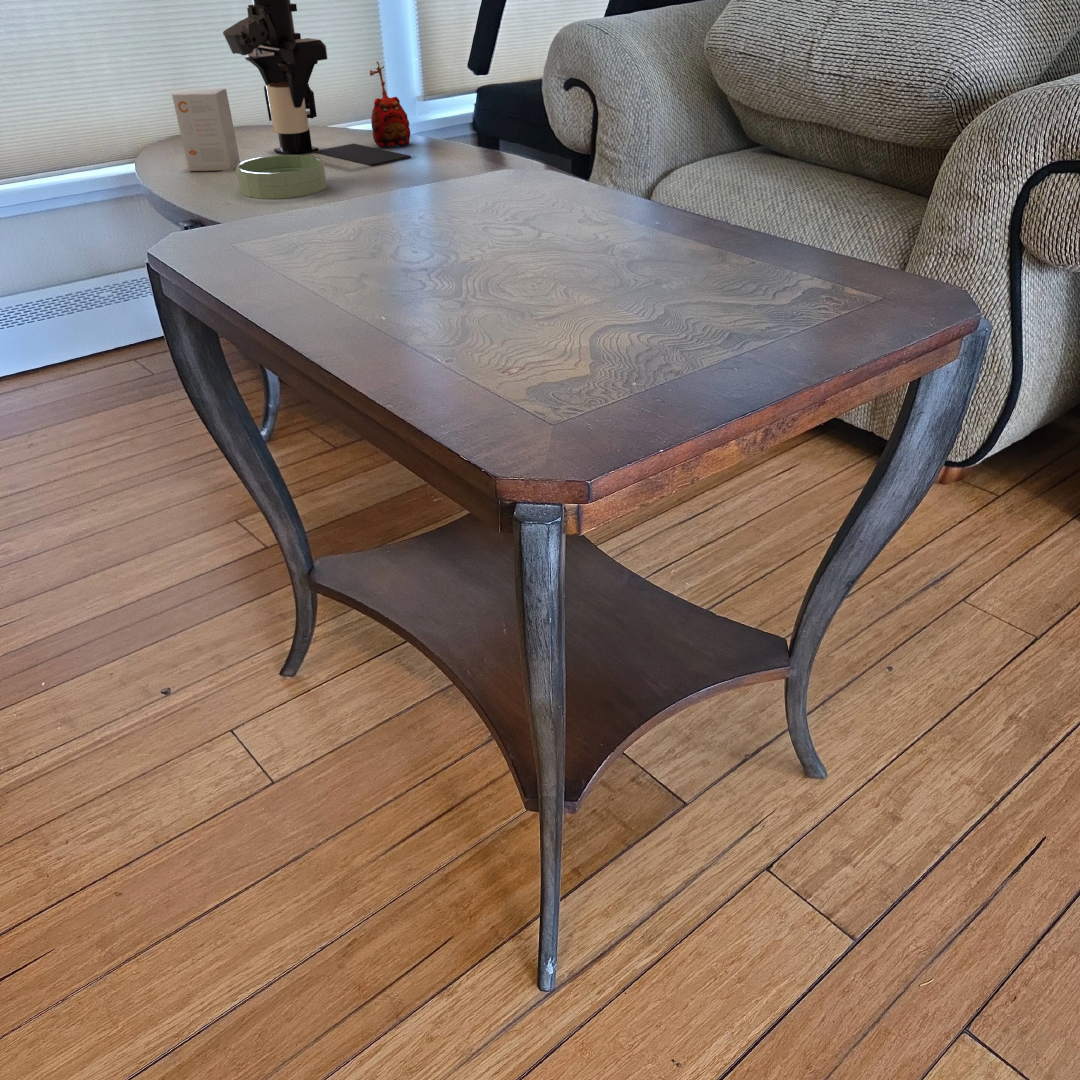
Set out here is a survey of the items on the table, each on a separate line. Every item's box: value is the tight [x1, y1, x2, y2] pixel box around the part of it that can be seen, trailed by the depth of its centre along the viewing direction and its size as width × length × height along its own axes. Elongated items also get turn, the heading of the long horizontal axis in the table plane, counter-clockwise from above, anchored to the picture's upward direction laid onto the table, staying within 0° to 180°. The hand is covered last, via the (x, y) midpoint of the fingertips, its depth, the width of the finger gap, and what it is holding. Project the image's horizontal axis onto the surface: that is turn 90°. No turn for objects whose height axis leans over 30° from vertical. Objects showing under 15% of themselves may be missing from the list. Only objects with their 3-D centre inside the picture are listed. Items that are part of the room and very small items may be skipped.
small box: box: [171, 88, 241, 172], centre depth 171 cm, size 8×6×13 cm
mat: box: [298, 143, 412, 167], centre depth 180 cm, size 18×14×1 cm
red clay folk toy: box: [369, 60, 411, 149], centre depth 185 cm, size 8×7×15 cm
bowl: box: [235, 154, 328, 200], centre depth 157 cm, size 14×14×4 cm
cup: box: [265, 82, 310, 134], centre depth 156 cm, size 6×6×7 cm
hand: (287, 105), depth 156 cm, fingers closed on cup, 6 cm apart
